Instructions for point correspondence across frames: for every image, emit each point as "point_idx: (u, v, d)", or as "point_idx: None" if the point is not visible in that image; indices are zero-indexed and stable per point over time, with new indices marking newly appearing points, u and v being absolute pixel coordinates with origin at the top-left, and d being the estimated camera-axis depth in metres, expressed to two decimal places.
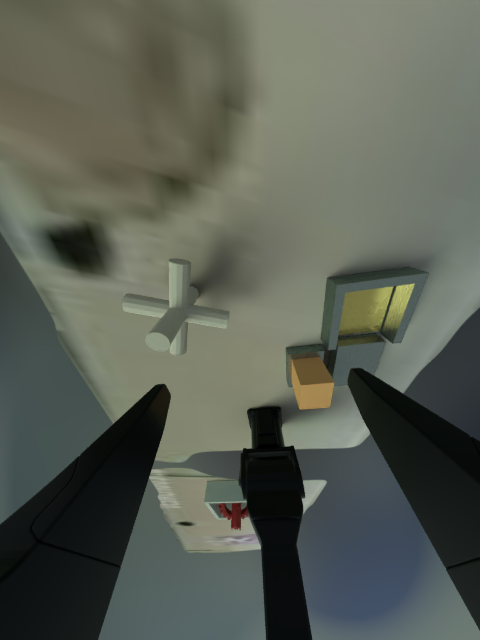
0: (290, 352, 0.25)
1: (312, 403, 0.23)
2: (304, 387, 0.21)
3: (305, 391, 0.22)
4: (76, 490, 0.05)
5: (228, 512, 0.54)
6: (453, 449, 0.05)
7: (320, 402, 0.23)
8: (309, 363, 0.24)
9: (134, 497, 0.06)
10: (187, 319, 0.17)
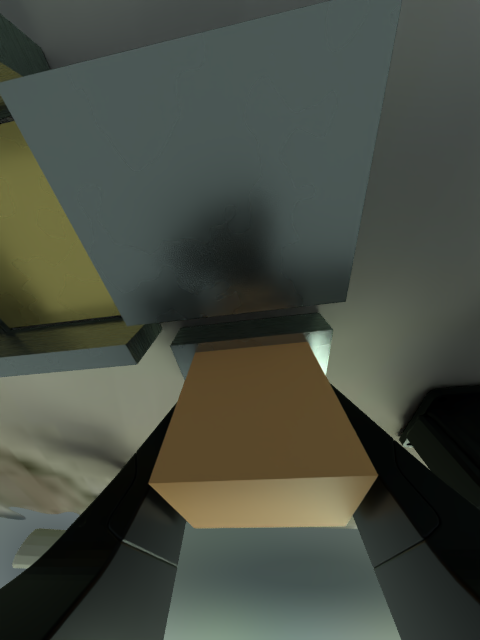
0: None
1: (311, 511, 0.05)
2: (204, 524, 0.06)
3: (226, 523, 0.06)
4: (144, 488, 0.04)
5: None
6: (375, 452, 0.05)
7: (309, 500, 0.04)
8: None
9: None
10: None
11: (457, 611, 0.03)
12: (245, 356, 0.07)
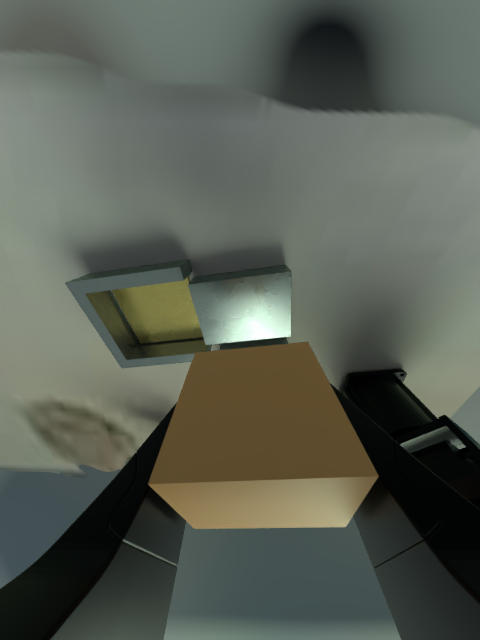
0: None
1: (311, 512, 0.05)
2: (204, 524, 0.06)
3: (226, 523, 0.06)
4: (144, 488, 0.04)
5: None
6: (375, 452, 0.05)
7: (309, 500, 0.04)
8: None
9: None
10: None
11: (456, 610, 0.03)
12: (245, 356, 0.07)
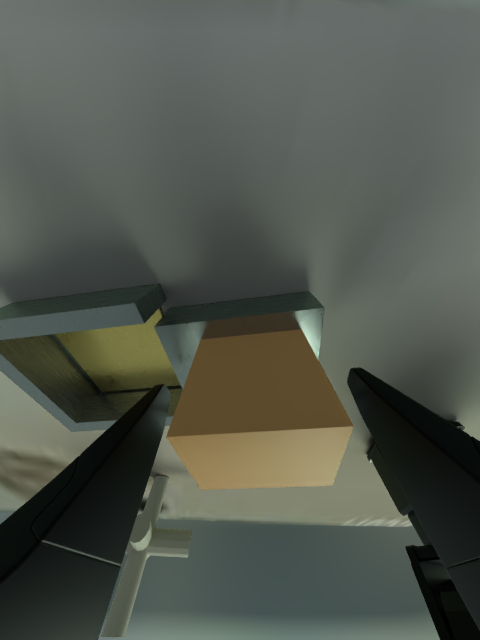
0: None
1: (302, 467, 0.06)
2: (210, 484, 0.07)
3: (229, 482, 0.06)
4: (76, 490, 0.05)
5: None
6: (453, 449, 0.05)
7: (299, 454, 0.05)
8: None
9: (134, 497, 0.06)
10: (140, 549, 0.17)
11: None
12: (245, 342, 0.08)
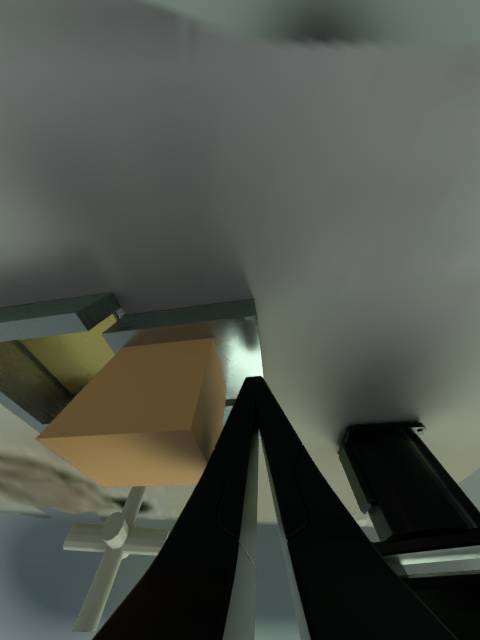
0: None
1: (176, 466, 0.06)
2: (107, 482, 0.07)
3: (122, 480, 0.07)
4: (239, 485, 0.04)
5: None
6: (282, 456, 0.05)
7: (164, 454, 0.06)
8: None
9: (255, 494, 0.06)
10: (116, 547, 0.18)
11: (299, 607, 0.03)
12: (158, 350, 0.09)
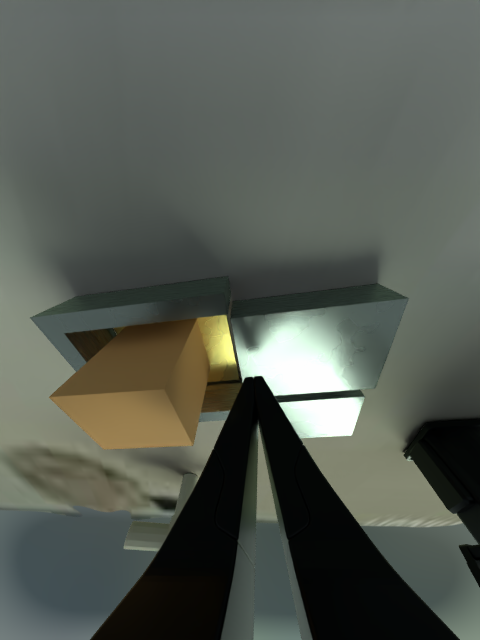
0: None
1: None
2: None
3: None
4: (238, 485, 0.04)
5: None
6: (283, 456, 0.05)
7: None
8: None
9: (254, 494, 0.06)
10: None
11: (301, 607, 0.03)
12: (174, 343, 0.09)
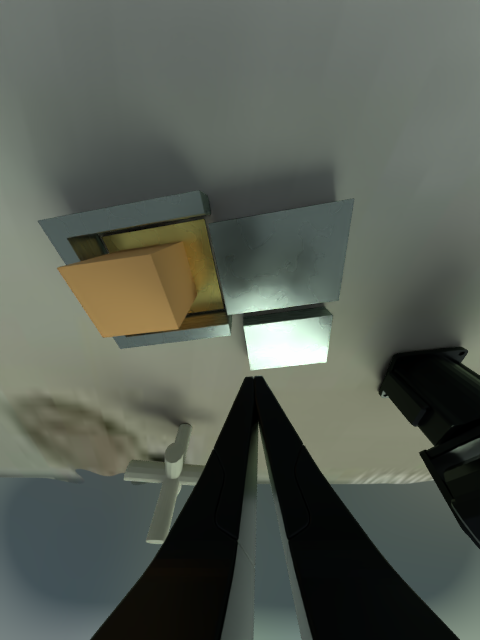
0: None
1: None
2: None
3: None
4: (238, 485, 0.04)
5: None
6: (283, 457, 0.05)
7: None
8: None
9: (254, 494, 0.06)
10: (173, 477, 0.19)
11: (301, 607, 0.03)
12: (161, 247, 0.10)
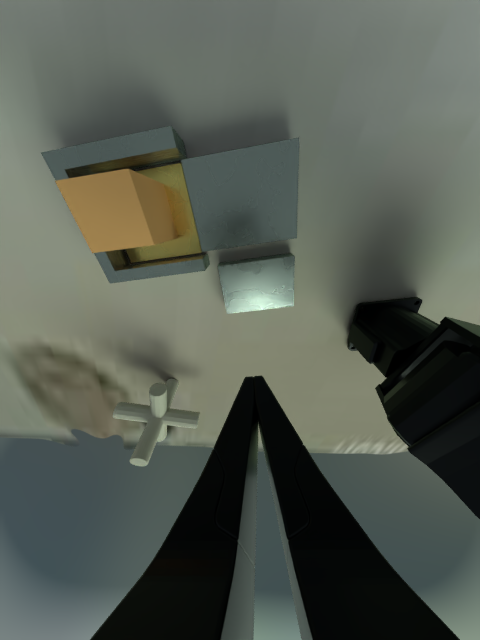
0: None
1: None
2: None
3: None
4: (238, 485, 0.04)
5: None
6: (283, 456, 0.05)
7: None
8: None
9: (255, 494, 0.06)
10: (158, 416, 0.21)
11: (301, 606, 0.03)
12: None
